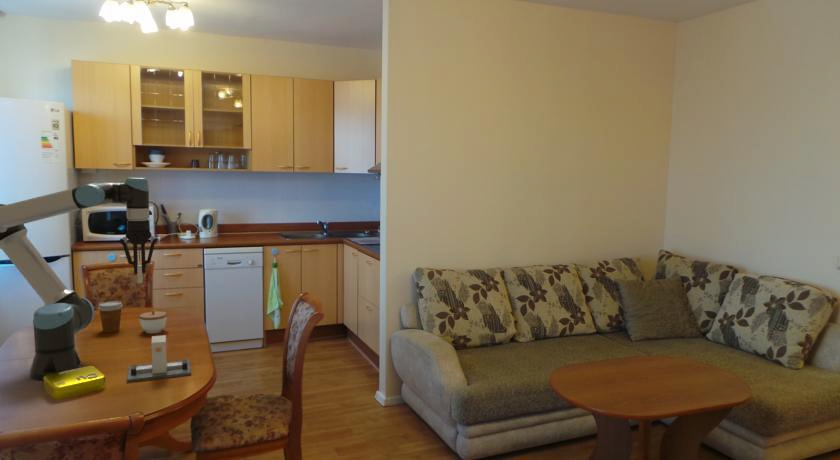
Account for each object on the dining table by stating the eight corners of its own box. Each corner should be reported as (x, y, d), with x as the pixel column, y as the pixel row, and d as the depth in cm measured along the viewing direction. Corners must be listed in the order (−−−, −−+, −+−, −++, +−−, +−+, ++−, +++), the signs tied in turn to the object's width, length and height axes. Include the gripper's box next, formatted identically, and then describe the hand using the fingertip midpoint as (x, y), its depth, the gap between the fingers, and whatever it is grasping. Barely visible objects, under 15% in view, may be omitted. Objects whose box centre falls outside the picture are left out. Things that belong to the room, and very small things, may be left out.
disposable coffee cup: (94, 331, 246) (92, 304, 245) (114, 326, 255) (113, 300, 254) (107, 334, 242) (106, 307, 241) (128, 329, 250) (127, 302, 249)
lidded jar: (159, 335, 243) (159, 314, 242) (135, 334, 243) (134, 313, 242) (171, 328, 253) (170, 308, 252) (147, 327, 254) (147, 307, 253)
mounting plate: (126, 382, 190) (126, 374, 190) (129, 368, 203) (129, 361, 203) (190, 374, 199) (190, 367, 198) (189, 362, 211) (189, 354, 211)
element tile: (93, 376, 196) (92, 363, 196) (107, 389, 186) (107, 375, 185) (42, 388, 185) (41, 374, 185) (54, 402, 175) (53, 387, 174)
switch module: (166, 372, 197) (165, 342, 196) (152, 374, 195) (151, 343, 194) (166, 364, 205) (165, 335, 204) (152, 366, 204) (151, 336, 202)
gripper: (158, 218, 215) (159, 279, 217) (119, 218, 210) (121, 281, 212) (157, 220, 208) (159, 283, 210) (117, 220, 203) (119, 285, 205)
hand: (140, 282), depth 211 cm, fingers closed
